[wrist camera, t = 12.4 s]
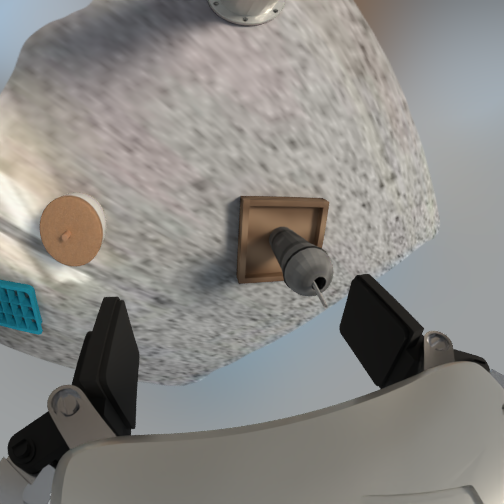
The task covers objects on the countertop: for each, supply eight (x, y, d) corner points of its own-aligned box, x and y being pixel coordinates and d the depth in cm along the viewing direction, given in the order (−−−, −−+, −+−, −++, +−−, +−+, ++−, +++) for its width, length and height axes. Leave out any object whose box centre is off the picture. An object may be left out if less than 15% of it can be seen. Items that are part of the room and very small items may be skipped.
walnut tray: (240, 196, 45) (243, 199, 43) (322, 198, 48) (329, 202, 46) (236, 276, 51) (239, 283, 49) (311, 271, 55) (316, 278, 52)
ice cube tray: (-26, 270, 36) (-33, 277, 33) (36, 281, 42) (31, 289, 39) (-14, 312, 40) (-19, 319, 38) (47, 326, 46) (43, 335, 44)
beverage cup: (301, 252, 51) (357, 318, 33) (263, 261, 50) (306, 334, 32) (299, 215, 48) (363, 270, 30) (259, 223, 46) (306, 286, 29)
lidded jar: (124, 206, 41) (111, 226, 33) (97, 256, 43) (81, 284, 35) (74, 173, 36) (49, 185, 28) (50, 226, 38) (26, 248, 30)
